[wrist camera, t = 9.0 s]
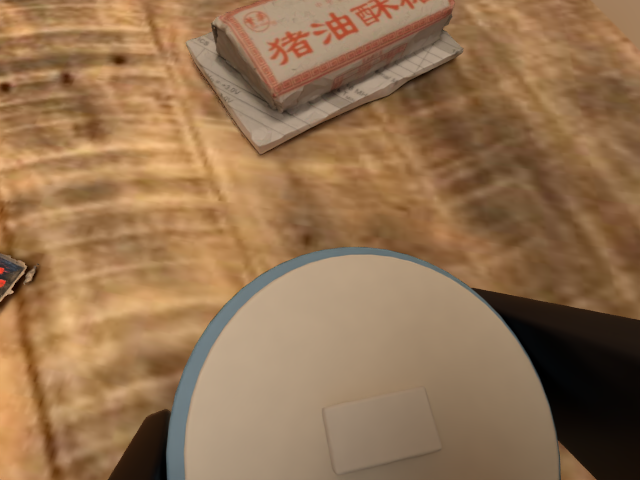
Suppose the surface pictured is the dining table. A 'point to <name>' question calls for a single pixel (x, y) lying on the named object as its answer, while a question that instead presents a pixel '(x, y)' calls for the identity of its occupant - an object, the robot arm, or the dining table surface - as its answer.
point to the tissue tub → (360, 380)
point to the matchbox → (11, 274)
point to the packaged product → (317, 59)
